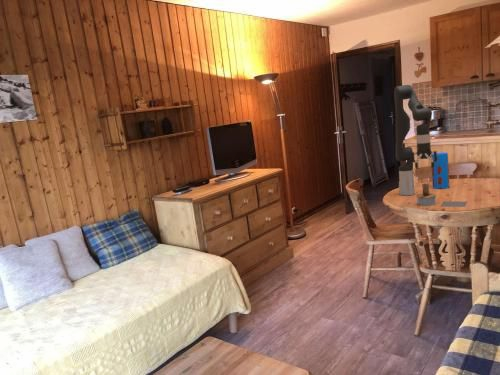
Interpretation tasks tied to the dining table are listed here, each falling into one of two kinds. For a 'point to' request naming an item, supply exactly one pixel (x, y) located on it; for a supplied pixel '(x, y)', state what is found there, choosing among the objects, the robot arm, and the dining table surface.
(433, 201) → the bowl
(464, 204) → the coaster
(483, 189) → the dining table surface
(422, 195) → the lid
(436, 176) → the blue box
